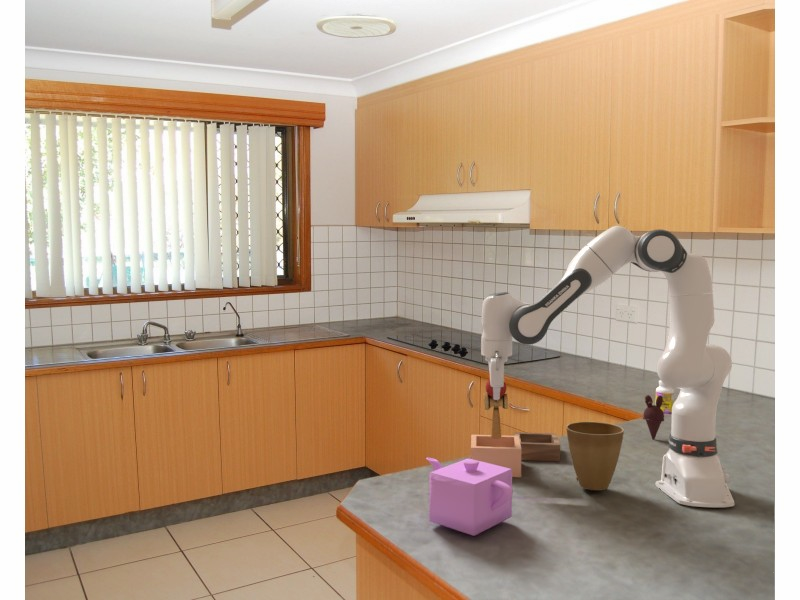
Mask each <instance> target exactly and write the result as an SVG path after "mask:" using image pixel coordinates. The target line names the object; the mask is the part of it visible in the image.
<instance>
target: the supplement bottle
mask: <svg viewBox="0 0 800 600" xmlns="http://www.w3.org/2000/svg"><path fill="white" fill-rule="evenodd" d="M658 396H662V397H663V403H662V406H661V407H660V408H661V410H662V411H663V413H664V414H672V406H673V404H674V402H675V388H671V387H668V386H666V385H665V384H664V383H663V382H662V381H661V380H660V379H659V380H658V387H656V389H655V399H654V403H655V404H654V405H656V399H657V397H658Z"/></svg>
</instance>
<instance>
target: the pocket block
mask: <svg viewBox="0 0 800 600" xmlns="http://www.w3.org/2000/svg"><path fill="white" fill-rule="evenodd" d="M513 434H514V435H513V436H519V440H520V445H521V461H540V462H541V461H546V462H548V461H549V462H561V443H560V441H559V438H558V435H557V433H555V432H554V433H553V432H551V433H550V432H548V433H547V432H517V431H516V432H515V431H514V433H513Z"/></svg>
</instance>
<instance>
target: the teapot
mask: <svg viewBox="0 0 800 600" xmlns="http://www.w3.org/2000/svg"><path fill="white" fill-rule="evenodd" d="M425 459H426V460H427V461H428V462H429V463H430V464H431V466H432V469H433V471H430V472H429V482H428V483H429V484H428V485H429V494H428V495H429V498H428V499H429V505H428V506H429V508H428V509H429V511H428V512H429V513H428V514H429V516H428V517H429V518H428V520H429V522H430V523H433V524H436V525H439V526H443V527H445V528H449V529H451V530H455V531H458V532H461V533H463V534H466V535H469V536H473V537H475V536H478V535H479V534H482V533H483V532H485V531H486V530H489V529H491V528H493V527H495V526H496V525H499V524H500V523H503V522H505V521H506V520H508V519H510V518H512V516H513V515H512V514H513V510H512V509H513V507H512V506H513V505H512V504H513V502H512V501H513V494H514V490H513V477H512V469H510V468H506V467H502V466H498V465H494V464H489V463H485V462H481V461H477V460H473V459H471V458H469V457H468V458H466V459H462V460H460V461H457V462H454V463H450V464H449V465H447V466H444V467H443V465H442V464H441V462H440V461H439V460H438V459H436V458H433V457H426V458H425Z"/></svg>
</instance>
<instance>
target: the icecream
mask: <svg viewBox="0 0 800 600" xmlns="http://www.w3.org/2000/svg"><path fill="white" fill-rule="evenodd" d="M644 400H645V401H644V403H645V404H646V408H645V409H644V411H643V417H642V420H645V422H646V425H647V428H648V431H649V434H650V436H651V439H652V440H653V441H654V440H655V438H656V436H657V434H658V431H659V430H660V428H661V424H662V422H664V421H665V413H663V411H662V410H661V408H660V407H661V406H662V403H663V397H662V396H658V397H657V399H656V398H655V400H656V405H655V404H653V403H654V402H653V401H654V400H653V398H652V396H650V395H649V394H647V395H645V396H644Z"/></svg>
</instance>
